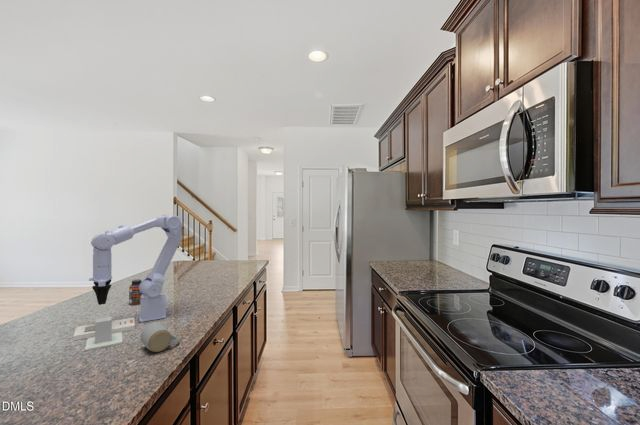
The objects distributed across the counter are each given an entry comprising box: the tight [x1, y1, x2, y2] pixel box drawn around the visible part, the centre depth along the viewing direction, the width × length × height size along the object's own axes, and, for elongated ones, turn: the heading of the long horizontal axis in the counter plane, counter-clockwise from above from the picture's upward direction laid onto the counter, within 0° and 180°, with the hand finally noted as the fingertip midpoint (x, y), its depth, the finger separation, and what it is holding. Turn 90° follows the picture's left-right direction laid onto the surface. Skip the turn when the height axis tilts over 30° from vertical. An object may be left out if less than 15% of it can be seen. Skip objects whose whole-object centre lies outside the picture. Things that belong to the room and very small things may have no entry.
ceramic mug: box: [140, 321, 180, 353], centre depth 99 cm, size 11×8×8 cm
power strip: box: [72, 317, 136, 341], centre depth 112 cm, size 18×10×2 cm, turn 124°
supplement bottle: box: [128, 278, 142, 306], centre depth 145 cm, size 6×6×11 cm
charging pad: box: [84, 332, 123, 352], centre depth 102 cm, size 10×10×1 cm
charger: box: [94, 316, 113, 344], centre depth 102 cm, size 4×4×7 cm
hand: (102, 301), depth 113 cm, fingers open, 7 cm apart
